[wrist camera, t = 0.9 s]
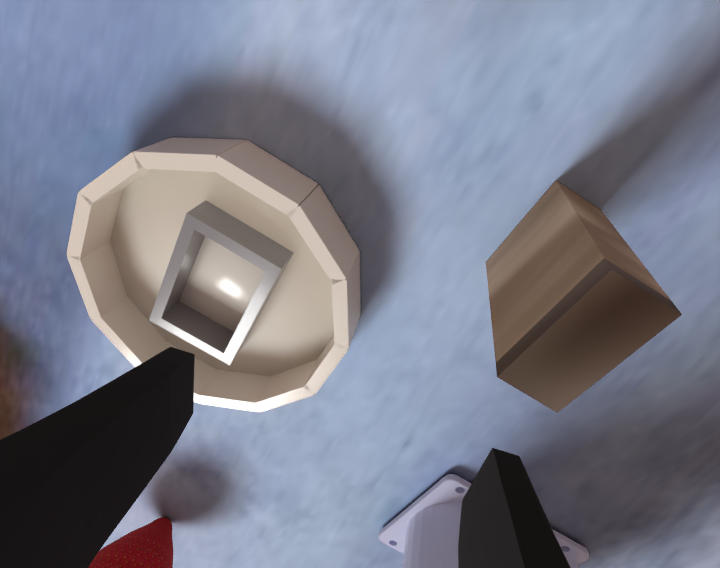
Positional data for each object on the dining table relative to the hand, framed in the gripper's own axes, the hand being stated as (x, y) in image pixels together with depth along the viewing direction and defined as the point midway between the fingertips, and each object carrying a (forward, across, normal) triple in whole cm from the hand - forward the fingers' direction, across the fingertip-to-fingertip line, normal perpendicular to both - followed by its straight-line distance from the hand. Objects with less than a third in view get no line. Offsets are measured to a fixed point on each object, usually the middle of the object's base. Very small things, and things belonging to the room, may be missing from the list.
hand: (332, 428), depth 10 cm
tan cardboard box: (+10, -5, -2) cm, 11 cm away
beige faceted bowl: (+10, +7, +3) cm, 12 cm away
